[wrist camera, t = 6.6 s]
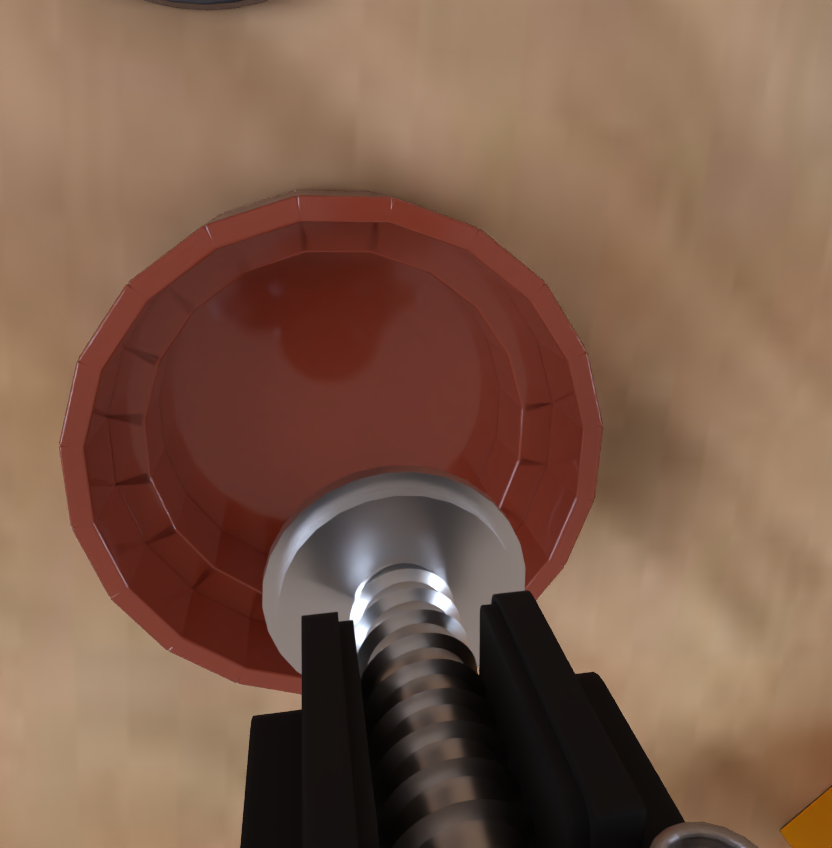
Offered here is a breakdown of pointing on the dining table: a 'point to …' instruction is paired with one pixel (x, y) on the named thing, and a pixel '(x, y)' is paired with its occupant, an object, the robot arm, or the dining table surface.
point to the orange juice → (812, 825)
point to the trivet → (206, 3)
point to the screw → (411, 642)
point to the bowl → (314, 405)
